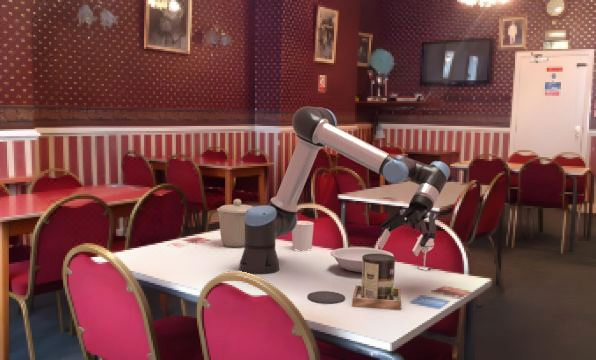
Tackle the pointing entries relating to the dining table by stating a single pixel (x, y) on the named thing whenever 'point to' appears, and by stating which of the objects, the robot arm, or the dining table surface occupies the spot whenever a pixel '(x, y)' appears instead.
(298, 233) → the candle holder
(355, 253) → the soup bowl
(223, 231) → the canister
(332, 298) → the black coaster
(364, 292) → the coffee can
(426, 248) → the wineglass
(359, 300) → the oak caddy
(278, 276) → the dining table surface
